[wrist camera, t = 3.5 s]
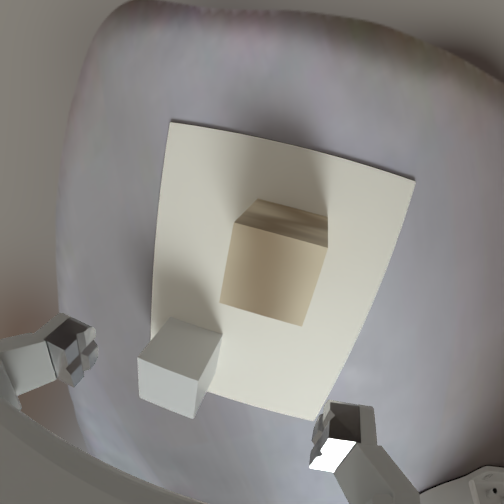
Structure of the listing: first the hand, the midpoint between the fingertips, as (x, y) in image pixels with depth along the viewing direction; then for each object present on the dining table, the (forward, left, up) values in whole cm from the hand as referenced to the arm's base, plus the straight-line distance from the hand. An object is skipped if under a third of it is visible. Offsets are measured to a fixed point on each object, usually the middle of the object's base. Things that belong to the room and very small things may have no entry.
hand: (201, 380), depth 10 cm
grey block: (+4, +10, -13) cm, 17 cm away
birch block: (-1, -1, -13) cm, 13 cm away
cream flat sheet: (0, +4, -13) cm, 13 cm away
